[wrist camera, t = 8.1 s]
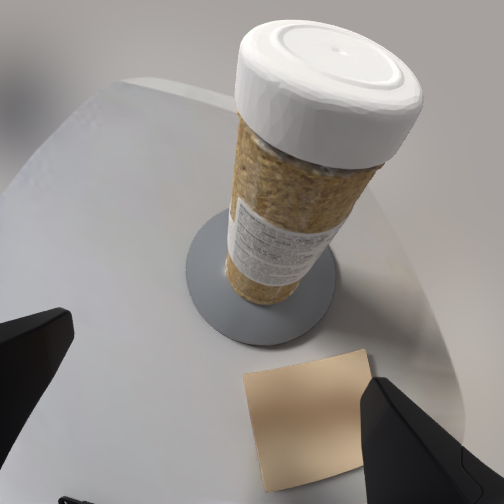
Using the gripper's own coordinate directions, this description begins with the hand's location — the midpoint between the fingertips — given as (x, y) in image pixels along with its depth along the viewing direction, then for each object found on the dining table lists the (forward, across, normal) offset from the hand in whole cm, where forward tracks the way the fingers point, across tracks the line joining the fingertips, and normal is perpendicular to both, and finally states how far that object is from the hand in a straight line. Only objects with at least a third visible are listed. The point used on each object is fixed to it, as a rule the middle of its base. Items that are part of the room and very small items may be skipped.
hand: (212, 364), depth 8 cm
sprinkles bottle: (+10, -1, +1) cm, 10 cm away
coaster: (+11, -1, +1) cm, 11 cm away
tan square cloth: (+5, -6, +7) cm, 10 cm away
